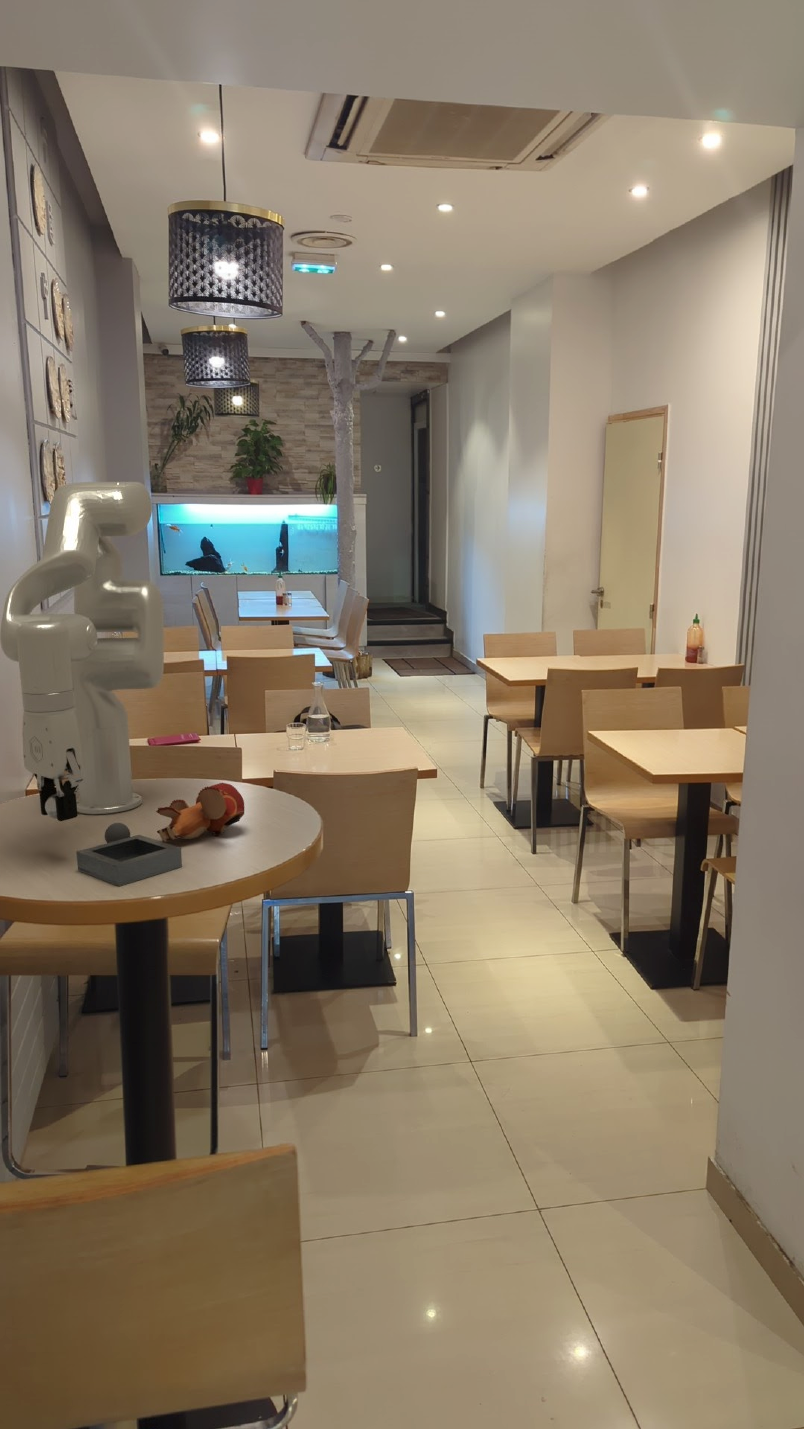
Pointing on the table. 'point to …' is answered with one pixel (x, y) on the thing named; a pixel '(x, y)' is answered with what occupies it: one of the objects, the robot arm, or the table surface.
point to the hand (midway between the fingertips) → (59, 814)
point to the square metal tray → (129, 859)
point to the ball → (116, 832)
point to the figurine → (203, 813)
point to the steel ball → (51, 806)
